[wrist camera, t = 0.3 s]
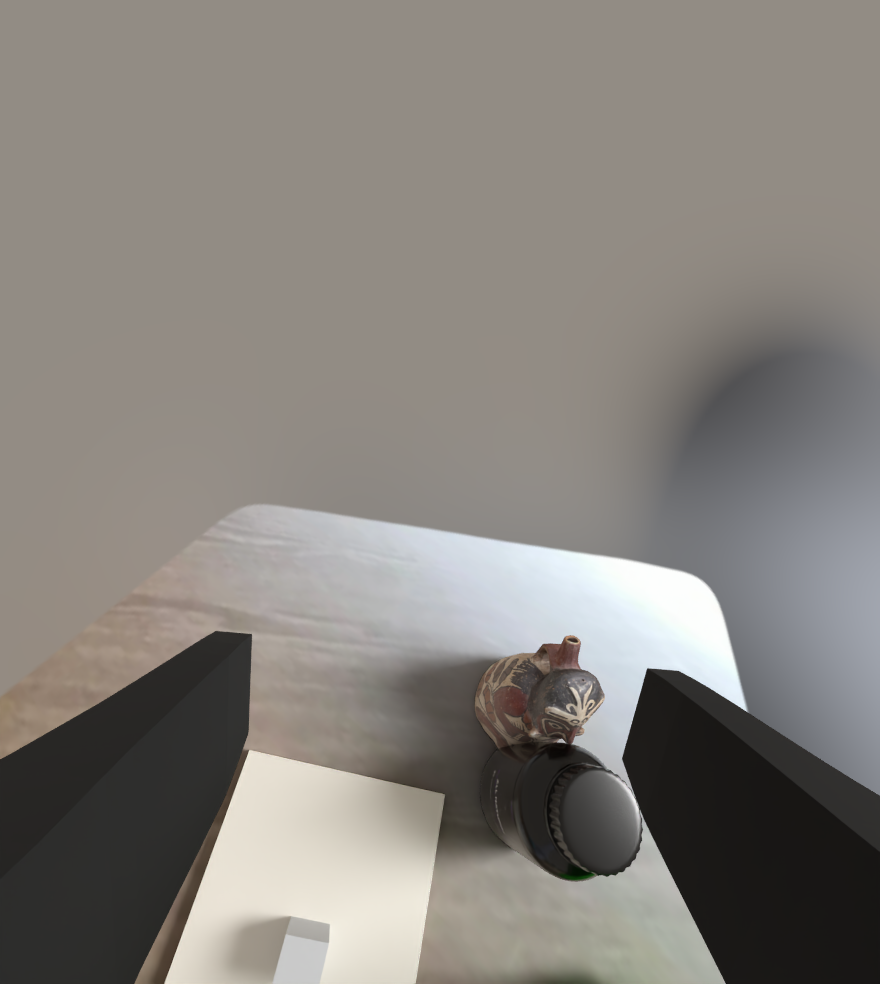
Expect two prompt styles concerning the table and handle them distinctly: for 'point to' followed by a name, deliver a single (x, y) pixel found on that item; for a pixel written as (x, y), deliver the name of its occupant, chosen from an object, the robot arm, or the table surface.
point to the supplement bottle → (561, 809)
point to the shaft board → (313, 880)
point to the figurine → (537, 696)
